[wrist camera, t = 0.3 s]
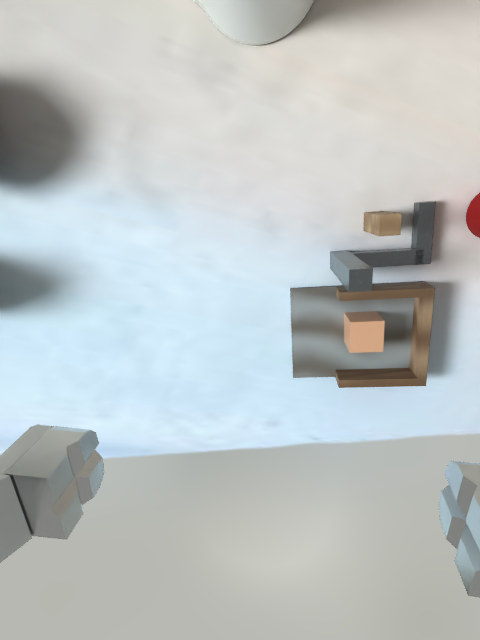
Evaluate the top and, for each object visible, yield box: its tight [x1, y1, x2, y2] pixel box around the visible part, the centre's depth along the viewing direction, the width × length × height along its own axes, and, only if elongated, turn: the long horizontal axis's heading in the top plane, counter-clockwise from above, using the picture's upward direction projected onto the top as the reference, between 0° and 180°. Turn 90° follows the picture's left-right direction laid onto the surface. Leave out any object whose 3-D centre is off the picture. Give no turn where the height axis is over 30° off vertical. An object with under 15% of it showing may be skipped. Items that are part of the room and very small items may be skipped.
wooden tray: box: [290, 281, 435, 388], centre depth 53 cm, size 14×19×4 cm
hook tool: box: [330, 202, 436, 292], centre depth 44 cm, size 8×13×14 cm, turn 94°
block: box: [344, 311, 385, 353], centre depth 52 cm, size 4×4×4 cm
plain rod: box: [364, 211, 402, 236], centre depth 46 cm, size 2×2×8 cm
